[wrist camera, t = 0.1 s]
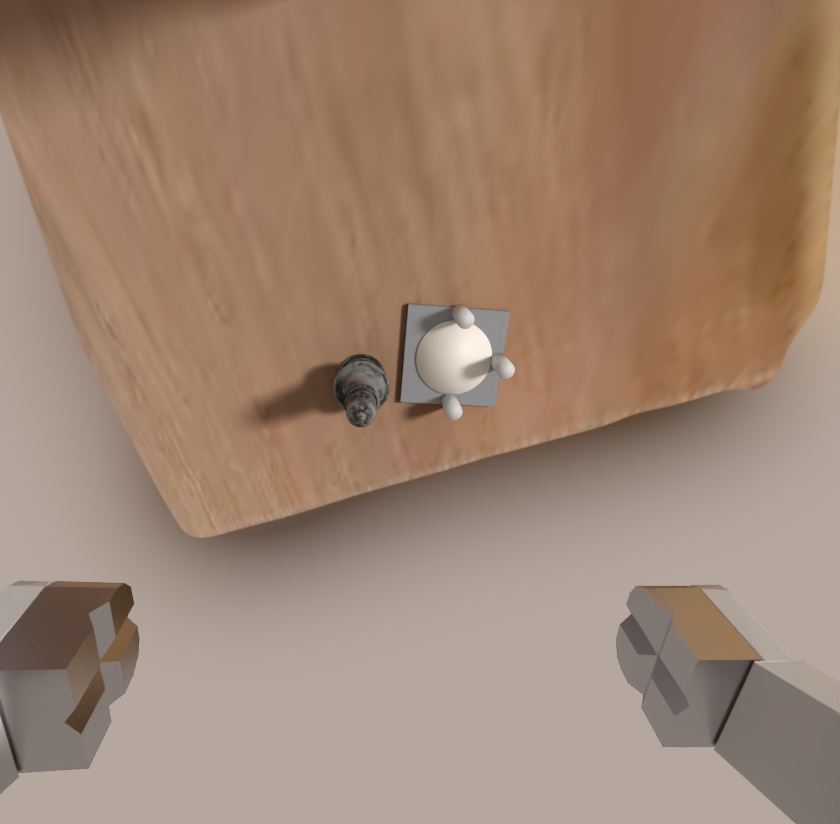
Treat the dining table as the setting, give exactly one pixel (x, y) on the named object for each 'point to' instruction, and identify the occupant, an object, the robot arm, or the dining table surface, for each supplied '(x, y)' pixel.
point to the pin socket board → (454, 356)
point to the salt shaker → (361, 388)
